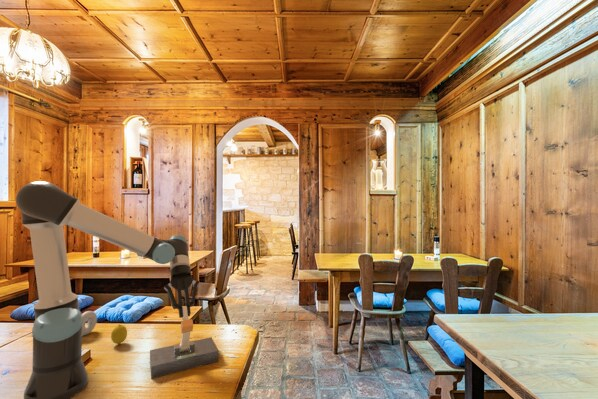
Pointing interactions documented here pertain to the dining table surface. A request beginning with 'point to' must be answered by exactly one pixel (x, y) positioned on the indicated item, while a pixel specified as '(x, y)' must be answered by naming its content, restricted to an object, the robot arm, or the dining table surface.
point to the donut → (91, 322)
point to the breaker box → (182, 357)
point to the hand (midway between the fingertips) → (185, 325)
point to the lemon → (119, 334)
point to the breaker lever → (186, 333)
